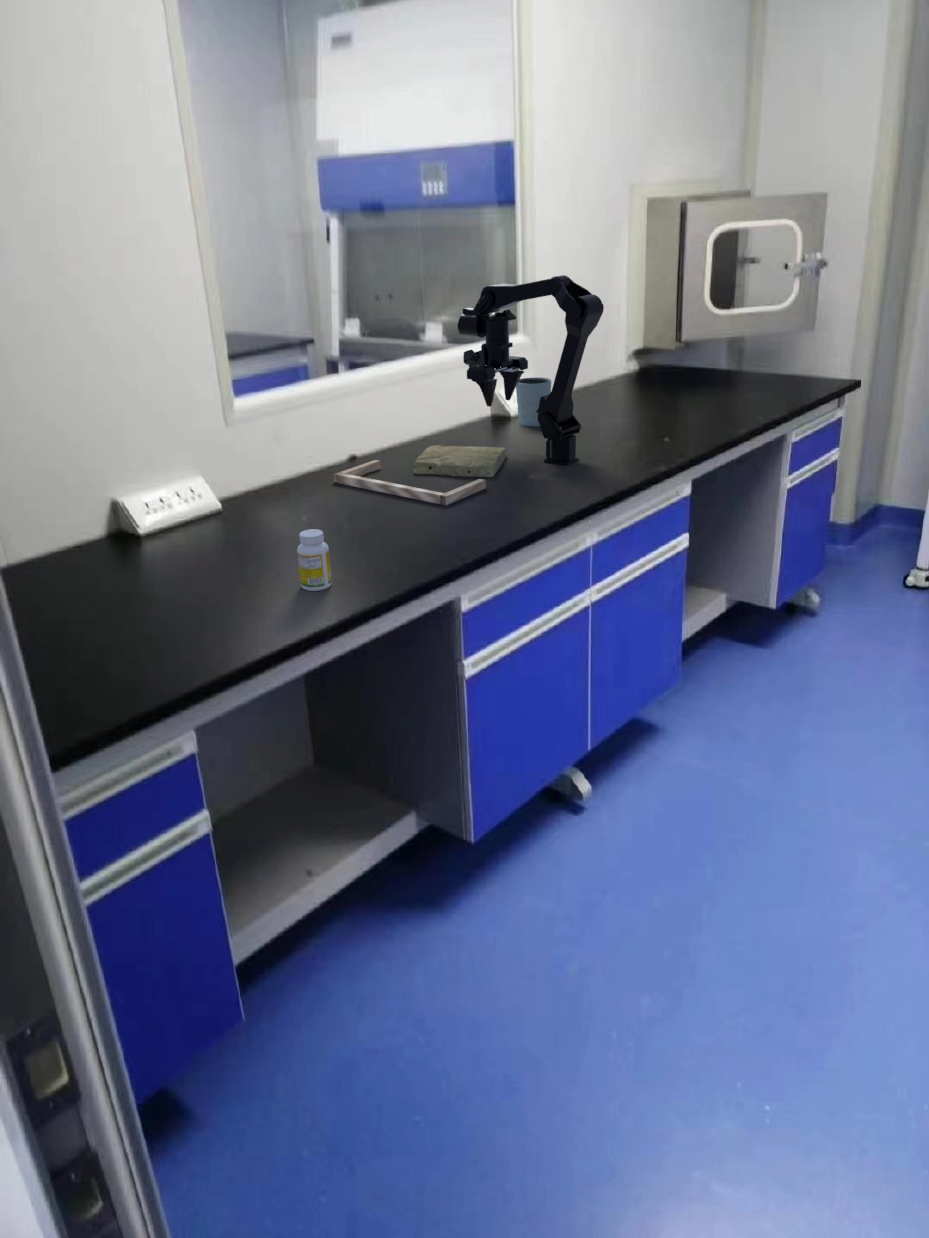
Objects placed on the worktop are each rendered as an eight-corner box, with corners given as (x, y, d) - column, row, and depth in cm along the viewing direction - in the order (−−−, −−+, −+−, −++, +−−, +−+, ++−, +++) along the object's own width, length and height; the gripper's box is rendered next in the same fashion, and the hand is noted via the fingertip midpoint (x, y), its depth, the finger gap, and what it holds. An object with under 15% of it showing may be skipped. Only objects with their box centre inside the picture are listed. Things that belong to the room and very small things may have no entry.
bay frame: (485, 488, 210) (485, 479, 209) (446, 505, 200) (445, 496, 199) (376, 467, 228) (375, 459, 228) (334, 482, 218) (333, 474, 217)
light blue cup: (533, 429, 259) (533, 385, 254) (508, 423, 266) (507, 380, 261) (558, 422, 265) (559, 379, 260) (533, 417, 272) (533, 375, 267)
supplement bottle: (315, 594, 158) (309, 540, 154) (294, 587, 161) (288, 534, 157) (338, 584, 162) (333, 531, 158) (317, 577, 165) (312, 525, 161)
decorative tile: (428, 457, 238) (428, 443, 237) (506, 458, 234) (506, 444, 233) (410, 477, 222) (409, 462, 220) (493, 479, 218) (493, 464, 216)
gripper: (492, 332, 239) (493, 393, 246) (447, 342, 226) (450, 407, 232) (528, 334, 233) (529, 397, 240) (485, 345, 220) (487, 411, 226)
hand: (498, 403), depth 235 cm, fingers open, 8 cm apart
